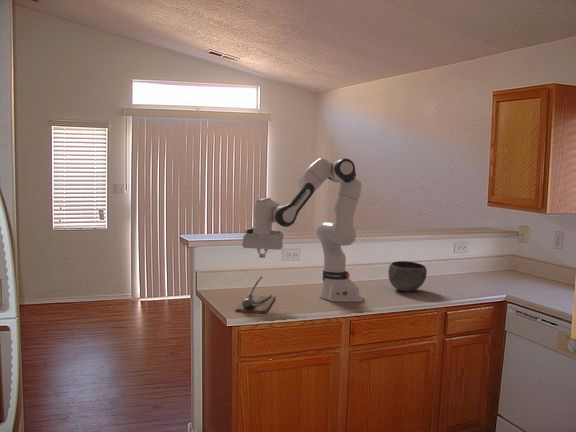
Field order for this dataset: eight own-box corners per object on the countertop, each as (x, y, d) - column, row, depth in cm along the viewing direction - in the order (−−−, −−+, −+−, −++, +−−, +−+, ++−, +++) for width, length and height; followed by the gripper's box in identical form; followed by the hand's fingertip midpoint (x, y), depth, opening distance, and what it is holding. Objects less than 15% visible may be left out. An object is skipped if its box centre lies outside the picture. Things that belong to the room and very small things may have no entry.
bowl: (398, 296, 307) (400, 268, 305) (380, 287, 327) (381, 261, 325) (433, 294, 314) (434, 267, 312) (413, 285, 333) (414, 260, 332)
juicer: (272, 295, 294) (257, 313, 265) (250, 294, 296) (234, 311, 267) (272, 277, 292) (257, 292, 263) (251, 275, 294) (234, 290, 265)
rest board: (275, 299, 292) (275, 296, 292) (265, 313, 265) (265, 310, 265) (248, 297, 294) (248, 295, 294) (235, 311, 267) (235, 309, 267)
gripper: (284, 230, 291) (283, 257, 292) (244, 228, 294) (244, 255, 295) (282, 232, 285) (281, 259, 286) (241, 230, 287) (241, 257, 289)
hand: (262, 257), depth 291 cm, fingers closed
